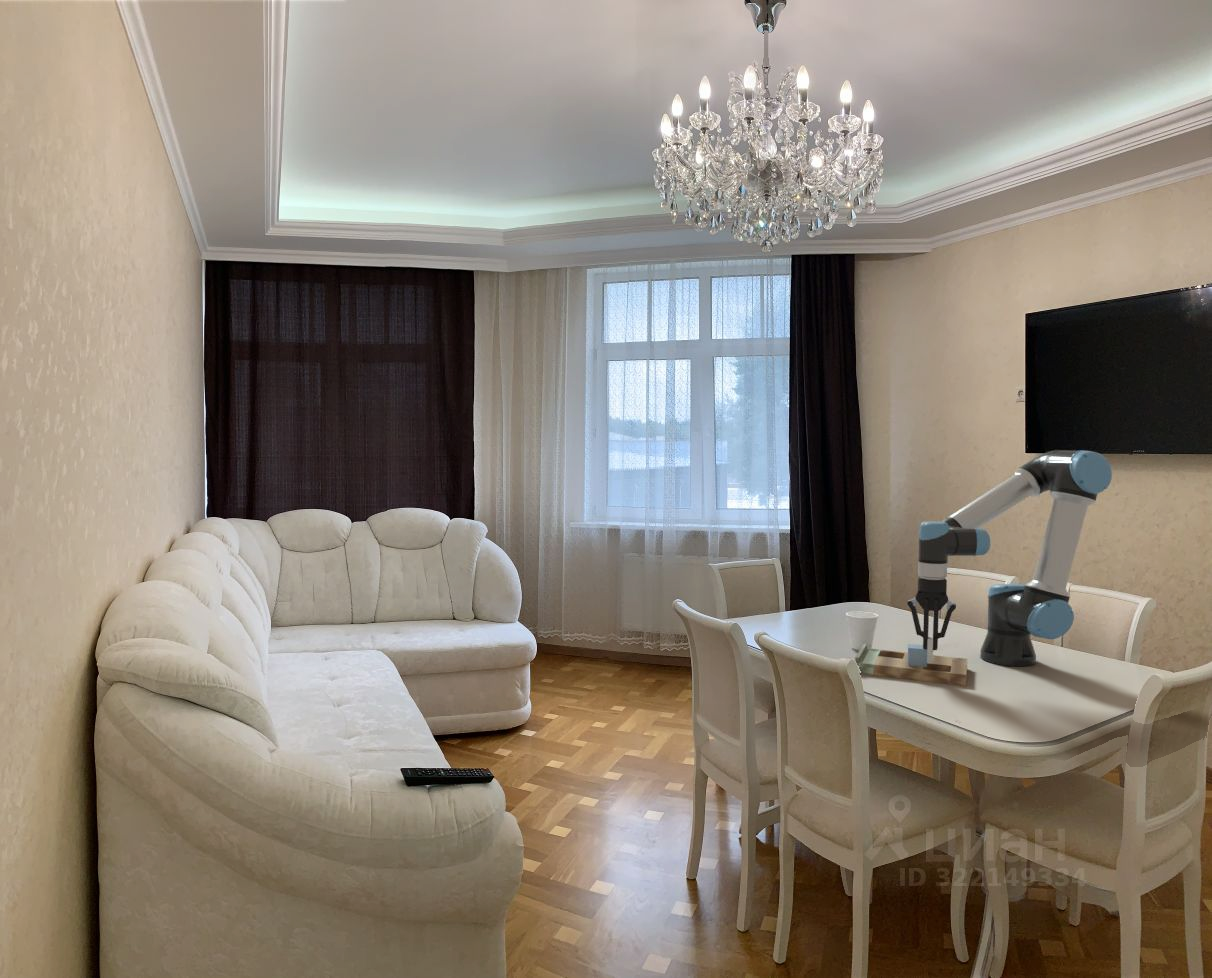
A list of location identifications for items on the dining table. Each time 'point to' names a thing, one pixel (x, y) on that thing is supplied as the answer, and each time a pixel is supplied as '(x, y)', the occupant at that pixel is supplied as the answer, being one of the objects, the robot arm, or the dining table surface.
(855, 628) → the cup
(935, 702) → the dining table surface
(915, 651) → the block
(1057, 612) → the robot arm
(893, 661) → the board
